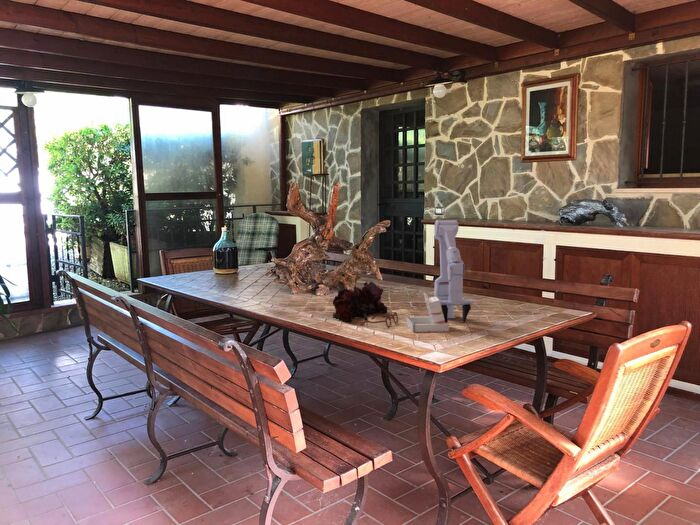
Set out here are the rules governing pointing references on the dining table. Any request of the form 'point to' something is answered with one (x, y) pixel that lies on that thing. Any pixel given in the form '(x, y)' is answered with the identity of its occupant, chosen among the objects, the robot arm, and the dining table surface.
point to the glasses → (385, 320)
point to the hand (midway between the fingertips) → (454, 322)
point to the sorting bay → (425, 325)
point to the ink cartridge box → (434, 310)
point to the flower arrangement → (358, 302)
